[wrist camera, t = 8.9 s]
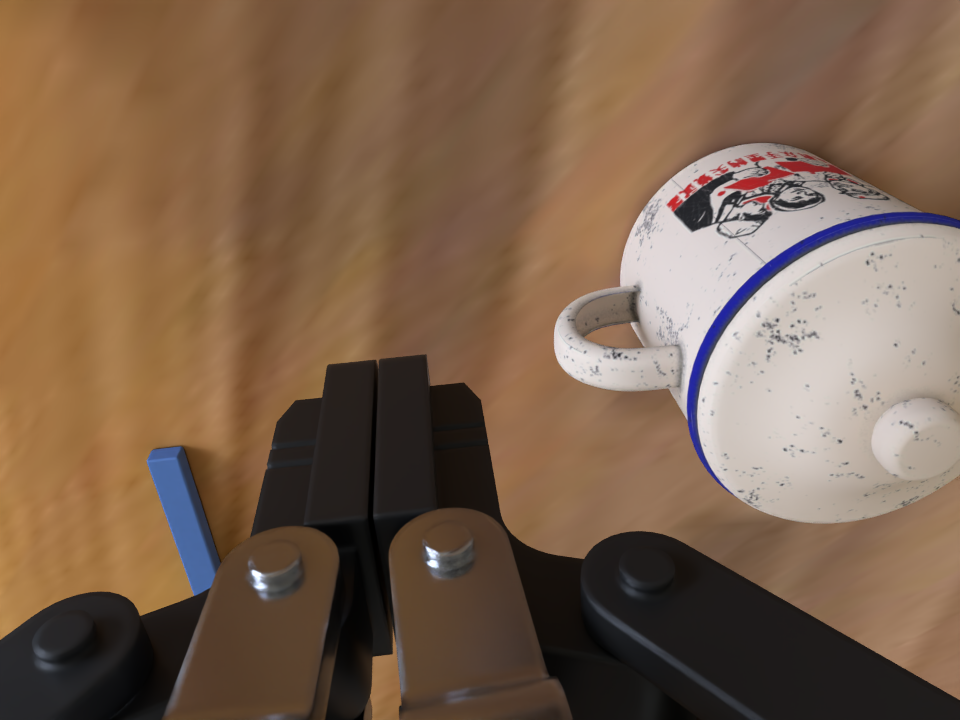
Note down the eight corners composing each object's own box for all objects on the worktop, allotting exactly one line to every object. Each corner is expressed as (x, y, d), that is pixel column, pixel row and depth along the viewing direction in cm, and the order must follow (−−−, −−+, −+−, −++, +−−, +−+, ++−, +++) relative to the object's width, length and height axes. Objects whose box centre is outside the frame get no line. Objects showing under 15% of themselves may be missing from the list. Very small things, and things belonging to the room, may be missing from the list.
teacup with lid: (884, 123, 25) (1205, 246, 15) (835, 361, 30) (1060, 578, 20) (527, 149, 25) (614, 295, 15) (531, 388, 29) (601, 628, 19)
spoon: (108, 453, 29) (99, 469, 28) (226, 440, 29) (220, 456, 28) (200, 694, 36) (195, 713, 35) (295, 682, 36) (292, 700, 35)
